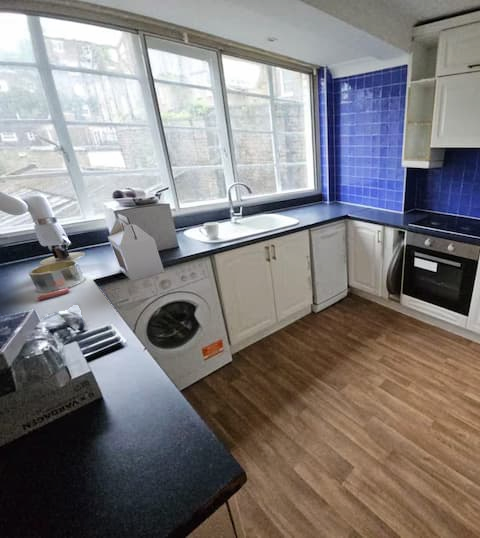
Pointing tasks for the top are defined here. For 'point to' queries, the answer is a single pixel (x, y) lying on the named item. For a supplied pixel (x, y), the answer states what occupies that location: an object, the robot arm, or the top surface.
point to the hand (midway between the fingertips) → (62, 257)
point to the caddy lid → (62, 257)
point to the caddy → (56, 276)
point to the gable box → (134, 250)
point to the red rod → (52, 294)
